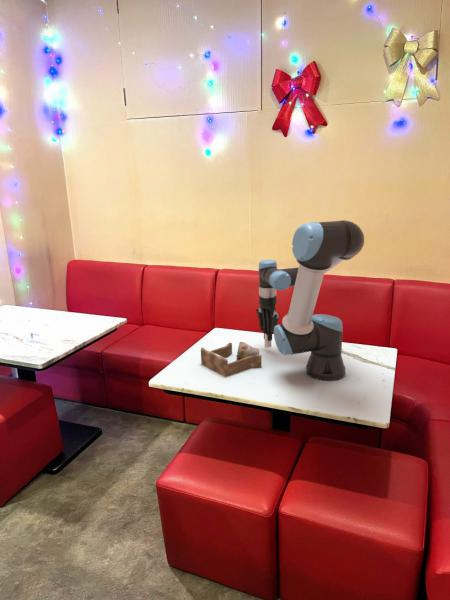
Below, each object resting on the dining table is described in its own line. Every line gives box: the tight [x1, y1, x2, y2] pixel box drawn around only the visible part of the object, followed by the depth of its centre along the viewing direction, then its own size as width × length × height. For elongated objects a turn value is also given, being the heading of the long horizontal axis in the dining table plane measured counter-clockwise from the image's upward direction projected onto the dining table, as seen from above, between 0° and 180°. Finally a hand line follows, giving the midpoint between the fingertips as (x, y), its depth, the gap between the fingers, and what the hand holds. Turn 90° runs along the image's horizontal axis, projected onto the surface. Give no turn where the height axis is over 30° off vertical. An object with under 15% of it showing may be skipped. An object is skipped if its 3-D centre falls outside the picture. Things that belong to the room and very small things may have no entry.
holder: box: [200, 342, 262, 378], centre depth 177 cm, size 21×18×8 cm
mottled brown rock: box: [236, 341, 260, 360], centre depth 183 cm, size 8×10×10 cm
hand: (268, 346), depth 190 cm, fingers closed
